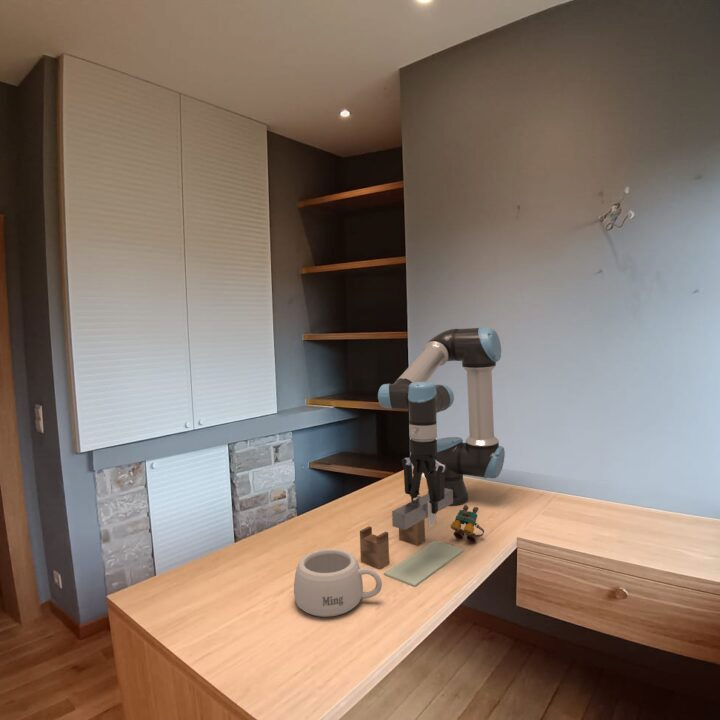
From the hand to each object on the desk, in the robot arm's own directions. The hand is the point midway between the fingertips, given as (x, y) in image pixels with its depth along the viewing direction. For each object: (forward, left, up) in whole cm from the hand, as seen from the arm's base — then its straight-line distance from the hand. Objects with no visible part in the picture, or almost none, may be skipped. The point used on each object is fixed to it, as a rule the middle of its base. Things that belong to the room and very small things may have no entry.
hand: (424, 521), depth 133 cm
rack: (-11, 0, -12) cm, 16 cm away
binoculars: (+2, +19, -12) cm, 23 cm away
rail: (0, 0, +2) cm, 2 cm away
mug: (-6, -29, -12) cm, 32 cm away
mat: (0, 0, -12) cm, 12 cm away
